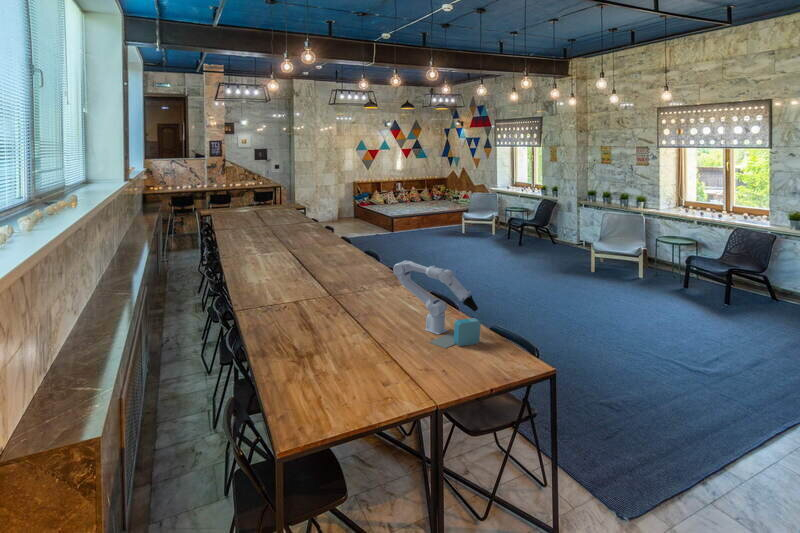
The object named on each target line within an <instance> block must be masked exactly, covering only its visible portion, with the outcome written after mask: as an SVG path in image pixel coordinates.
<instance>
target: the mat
mask: <svg viewBox="0 0 800 533" xmlns="http://www.w3.org/2000/svg"><path fill="white" fill-rule="evenodd" d="M428 343H429V344H431V345H435V346H437V347H441V348H443V349H445V348H446V349H448V348H450V347H453V346H454V345H457V344H456V343H455V342H454V331H452V332H449V333H447V334H445V335H442V336H440V337H438V338H435V339H433V340H429V341H428Z"/></svg>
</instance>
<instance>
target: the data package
mask: <svg viewBox="0 0 800 533" xmlns="http://www.w3.org/2000/svg"><path fill="white" fill-rule="evenodd" d="M481 326H482V323H481V321H480V320H479V319H477V318H476V317H472V318H463V319H457V320H455V322H454V328H453V330H454V331H453V332H454V342H455V343H456V344H455V345H457V346H459V347H464V346H472V345H478V344H479V343H480V337H481Z"/></svg>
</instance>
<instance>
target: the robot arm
mask: <svg viewBox="0 0 800 533" xmlns="http://www.w3.org/2000/svg"><path fill="white" fill-rule="evenodd" d="M412 271H413V272H417V273H421V274H426V276H427V277H428V278H431V279H435V280H438V281H439V282H441V283H443V284H445V285H446V286H447V287H448V289H449V290H450V291H451V292H452V293H453V294H454V295H455V296H456V297H457V299H458V300H459V301H460V302H462V303H463V306H466V307H468V308H469V309H470V310H471V311H473V312H476V311H478V309H479V306H478V305H477V303H476V302H475V300H474V299H473V295H470V293H472V291H471V290H469V291H468V290H467V289H466V288H465V287H464V286H463V285H462V283H461V282H460V281H459V280H458V279H457V278H456V277H455V276H454V272H453V270H451V269H449V268H446V269H445V268H443V267H442V268H440V267H436V265H430V266H428V267H427V266H424V265H422V264H419V263H416V262H414V261H411V260H408V259H407V260H406V259H404V260H403V261H400V262H397V263H395V264H394V265H393V275H395V276H396V278H397V280H398V281H399V283H400V285H401V286H403V287H404V288H405V289H406V290H407V291H409V292H410V293H411V294H412V295H414V296H415V298H417V299H418V300H420V301H421V302H422V303H423V304H425V307H426V310H428V312H429V313H428V314H427V315H426V319H425V320H426V321H425V322H426V323H425V329H424V330H425V331H426V332H430V333H433V334H435V335H441V334H443V333H447V332H448V331H449V330H448V329H446V328H445V325H446V313H445V312H446V311H447V309H448V304H447V302H446V301H444V300H442V299H440V298H438V297H434V296H433V295H432V294H430V293H429V292H428V291H426V290H425V289H424V288H422V287H421V285H418V284H417V283H416V282H415V281H414V280H412V278H411V272H412ZM469 295H470V296H469Z"/></svg>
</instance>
